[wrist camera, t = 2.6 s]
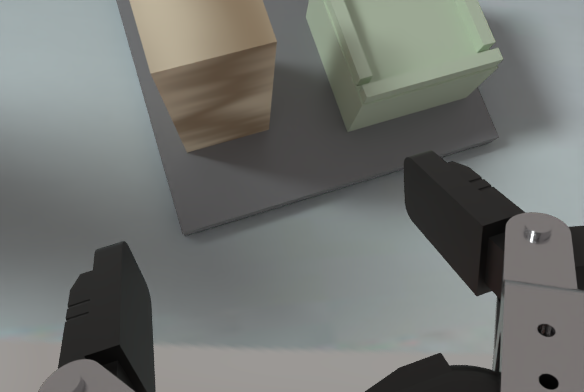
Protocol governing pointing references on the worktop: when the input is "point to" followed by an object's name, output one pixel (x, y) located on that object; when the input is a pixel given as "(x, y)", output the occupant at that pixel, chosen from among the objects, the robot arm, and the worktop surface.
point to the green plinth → (400, 54)
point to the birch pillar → (210, 65)
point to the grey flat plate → (295, 135)
